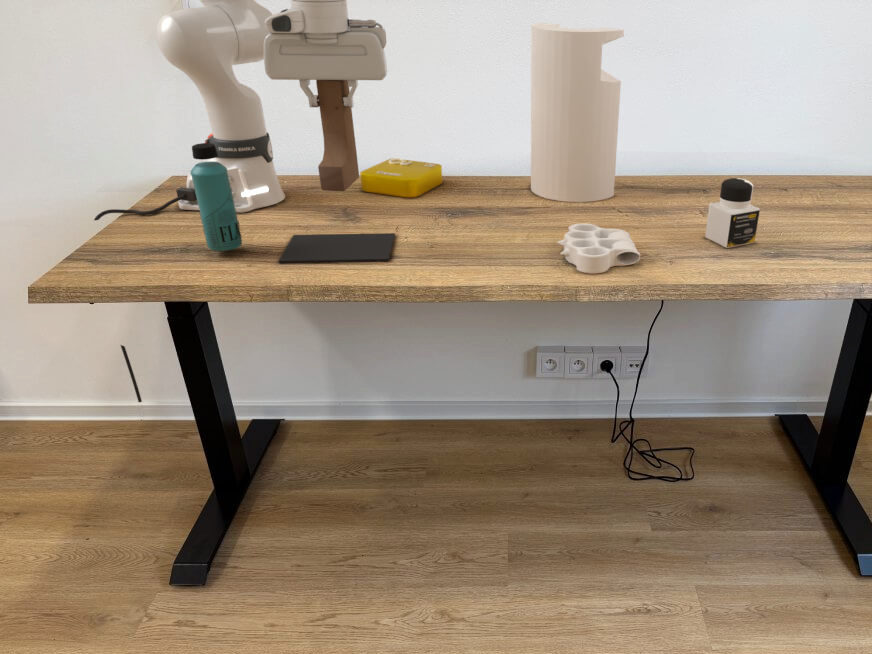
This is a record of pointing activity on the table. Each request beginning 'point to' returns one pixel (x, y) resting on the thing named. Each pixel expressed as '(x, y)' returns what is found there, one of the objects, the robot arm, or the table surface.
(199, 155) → the beverage bottle
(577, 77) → the beige notched cylinder
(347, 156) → the wooden block
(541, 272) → the table surface
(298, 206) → the table surface
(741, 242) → the medicine bottle
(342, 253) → the desk mat
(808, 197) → the table surface
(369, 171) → the element tile
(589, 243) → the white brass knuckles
